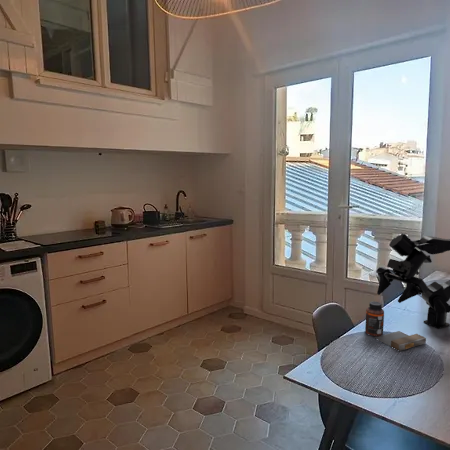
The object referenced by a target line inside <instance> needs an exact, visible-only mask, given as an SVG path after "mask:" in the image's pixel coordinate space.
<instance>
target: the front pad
mask: <svg viewBox="0 0 450 450" xmlns="http://www.w3.org/2000/svg"><path fill="white" fill-rule="evenodd" d="M406 336H410V335H408V334H407V333H404V332H402V331H400V330H398V331H394V332H390V333H386V334H382V335H381V336H374V338H376V339H378V340H379V341H378V340H377V341H378V342H380V341H381V342H380V343H382V342H383V343H382V344H384V343H385V344H384V345H386V344H387V345H386V346H388V345H389V346H388V347H390V346H391V341H392V340H396V339H399V338H403V337H406ZM376 339H375V340H376Z"/></svg>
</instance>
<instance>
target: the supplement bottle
mask: <svg viewBox="0 0 450 450" xmlns="http://www.w3.org/2000/svg"><path fill="white" fill-rule="evenodd" d="M368 306H369V307H367V308H366V310H365V326H364V328H365V329H364V330H365V331H364V332H365V333H366V334H367V335H368V334H369V336H372V337H379V336H382V335H384V334H383V333H384V326H385V325H384V322H385V320H384V319H385V310H384V309H383V308H382V302H380V301H375V300H374V301H370V302H369V304H368Z"/></svg>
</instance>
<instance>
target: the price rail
mask: <svg viewBox="0 0 450 450" xmlns="http://www.w3.org/2000/svg"><path fill="white" fill-rule="evenodd" d="M426 342H427V337H424V336H422V335H420V334H418V333H414V334H410V335H409V336H406V337H403V338H399V339H396V340H392V341H391V347H390V348H392V347H393V348H392V349H394V348H395V349H394V350H396V349H397V350H396V351H398V350H399V351H398V352H401V351H404V350H408V349H411V348H414V347H418V346H421V345H424V344H426Z"/></svg>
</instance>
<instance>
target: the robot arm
mask: <svg viewBox="0 0 450 450" xmlns="http://www.w3.org/2000/svg"><path fill="white" fill-rule="evenodd" d="M389 247H390V248H391V249H392V250H393V251H394V252H396V253H397V254H398V255H399V256H400V257H405V259H404V260H397V259H393V258H389V259H388V262H387V264H386V267H387V268H386V267H383V266H379V267H378V268H377V270H376V271H375V272H376V274H377V275H378V278H379V283H378V288H377V291H376V292H377V293H376V294H377V295H378V296H379V295H381V294H382V293H384V292H385V291H386V289H388V288H389V286H391V285H392V284H391V283H392V282H393V281H397V282H399V283H403V284H406V286H405V289H404V290H403V291H402V293H401V295H400V296H399V297H398V299H397V302H398V303H399V304H401V303H402V302H404V301H406V300H409V299H411V298H413V297H415V296H419V295H421V297H422V300H424V301H425V303H426V305H428V308H427V318H426V319H425V320H423V323H424V324H427V325H429V326H432V327H435V328H437V329H441V328H446V327H448V326H450V323H449V322H447V316H448V314H447V313H450V304H449V303H448V302H449V301H450V279H449V280H447V281H446V282H442V283H439V282H437V281H433V282H431V283H430V284H428V285H427V284H426V282H425V281H424V280H423V278H420V277H417V276H418V275H419V274H420V272H419V270H420V269H421V267H422V265H424V263H425V264H427V263H429V264H430V263H432V258H431V255H438V254H443V253H445V252H449V251H450V238H442V237H437V236H432V235H431V236H430V235H425V236H424V235H423V236H422V237H421V238H419V239H415V240H411V238H409V237H408V235H407V234H406V233H403V232H402V233H400V234H399V235H397V236H396V237H393V239H391V240H390V242H389ZM426 253H427V254H426ZM428 254H429V255H428ZM389 268H390V269H391V270H392V272H393V273H392V272H391V270H390V269H389ZM416 275H417V276H416Z"/></svg>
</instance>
